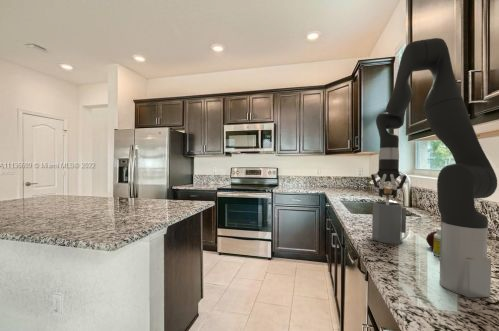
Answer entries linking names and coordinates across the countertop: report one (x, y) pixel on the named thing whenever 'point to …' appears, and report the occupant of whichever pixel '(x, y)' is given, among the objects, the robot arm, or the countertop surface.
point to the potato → (431, 239)
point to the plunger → (387, 193)
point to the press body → (388, 222)
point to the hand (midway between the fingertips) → (387, 197)
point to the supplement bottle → (437, 242)
